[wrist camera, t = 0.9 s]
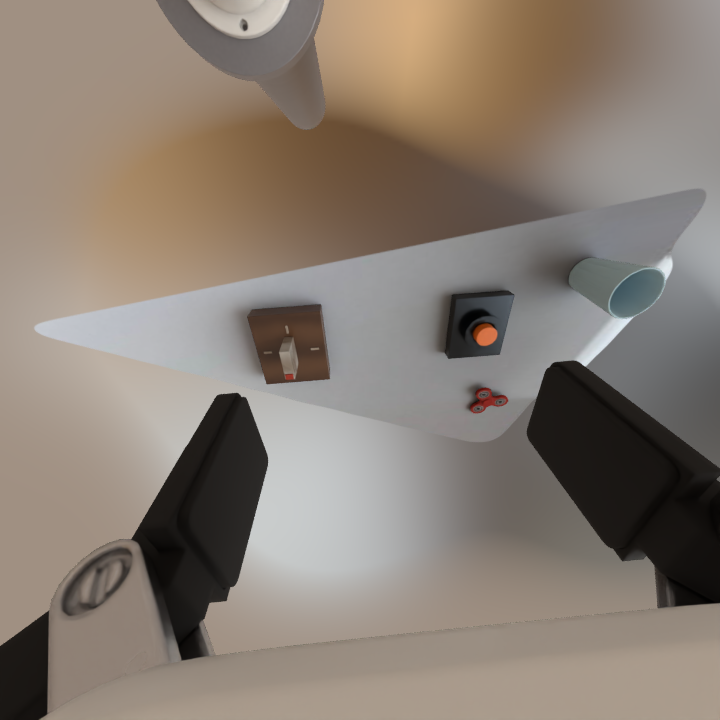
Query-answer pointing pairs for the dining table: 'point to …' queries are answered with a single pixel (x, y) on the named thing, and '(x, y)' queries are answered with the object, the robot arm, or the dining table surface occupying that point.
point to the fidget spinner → (487, 400)
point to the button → (485, 334)
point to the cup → (618, 285)
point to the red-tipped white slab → (289, 358)
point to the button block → (477, 322)
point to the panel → (307, 338)
